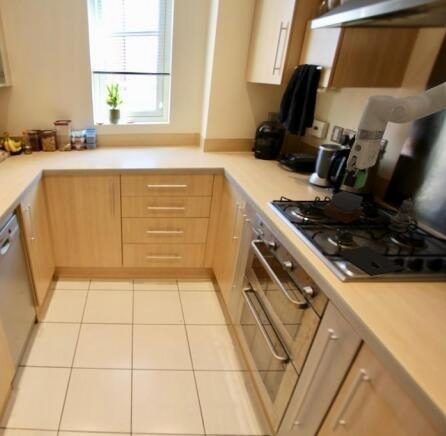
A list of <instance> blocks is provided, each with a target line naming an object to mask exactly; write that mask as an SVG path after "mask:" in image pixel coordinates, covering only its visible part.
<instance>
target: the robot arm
mask: <svg viewBox="0 0 446 436" xmlns="http://www.w3.org/2000/svg"><path fill="white" fill-rule="evenodd" d="M444 110H446V81H445V82H442V83H440V84H438V85H436V86H433V87H432V88H429V89H426V90H425V91H422V92H419V93H417V94H415V95H411V96H406V97H398V98H397V97H394V96H393V95H383V94H377V95H376V94H374V95H370V96H369V97H367V99H366V100H365V102H364V106H363V109H362V113H361V116H360V120H359V122H358V125H357V130H356V132H355V136H354V139H355V140H354V142H353V144H352V147H351V149H350V152H349V155H348V157H347V160H346V161H347V162H346V167H345V173H346V172H347V173H346V179H345V182H344V185H343V186H345V187H349V188H352V187H354V185H355V182H356V179H357V177H356V175H357V173H358V171H363V172H367V173H369V172H368V171H369V169H370V168H372V167H374V166H375V165H376V163H377V159H378V156H379V152H380V148H381V143H382V141H383V137H384V135H385V132H386V130H387V126H388V123H389V122H390V123H393V124H400V125H401V124H407V123H410V122H413V121H417V120H420V119H423V118H425V117H428V116H430V115H433V114H436V113H438V112H441V111H444ZM354 166H355V167H354ZM353 169H355V172H354V170H353Z"/></svg>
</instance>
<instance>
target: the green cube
mask: <svg viewBox="0 0 446 436" xmlns="http://www.w3.org/2000/svg"><path fill="white" fill-rule="evenodd" d="M352 170H354V172H355V170H356V169H352ZM346 173H347V171H345V173H344V177H343V179H342V183H341V185H342V186H345V185H344V182H345V179H346ZM368 176H369V172H363V171H358V173H357V175H356V177H357V179H356V182H355V185H354V187H351V188H353V189H357V190H358V189H359V188H363V187H364V186H365V184H366V182H367V179H368Z"/></svg>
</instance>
